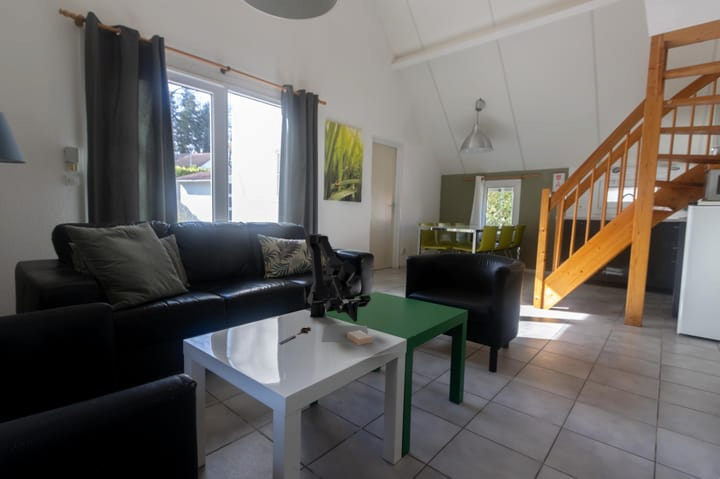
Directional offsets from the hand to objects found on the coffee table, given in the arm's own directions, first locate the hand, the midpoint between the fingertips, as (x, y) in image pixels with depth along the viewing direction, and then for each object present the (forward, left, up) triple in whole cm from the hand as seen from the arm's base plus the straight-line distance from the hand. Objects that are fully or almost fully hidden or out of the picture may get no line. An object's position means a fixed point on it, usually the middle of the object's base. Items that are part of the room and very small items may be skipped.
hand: (355, 321), depth 137 cm
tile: (-1, +1, -5) cm, 6 cm away
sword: (-24, -1, -8) cm, 25 cm away
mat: (-4, +5, -7) cm, 9 cm away
